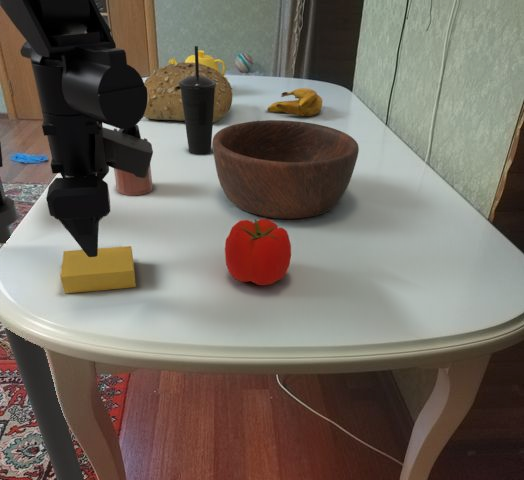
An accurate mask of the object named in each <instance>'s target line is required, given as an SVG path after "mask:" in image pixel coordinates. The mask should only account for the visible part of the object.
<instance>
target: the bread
mask: <svg viewBox="0 0 524 480" xmlns="http://www.w3.org/2000/svg"><path fill="white" fill-rule="evenodd" d="M220 72H221V71H220ZM220 72H218V71H217V70H215V69H213V68H211V67H208V66H205V65H202V64H199V75H200V76H205V77H207V78H209V79H211V80H213V81H215V82H216V87H215V96H214V111H213V123H216V122H219V121H221V120H222V119H223V118H224V117H225V116H227V114H228V113H229V112H230V110H231V107H232V104H233V94H234V93H233V88H232V85H231V83H230V82H229V80H228V81H227V80H226V78H227V77H226V76H225V75H224V76H222V72H221V73H220ZM193 75H196V71H195V63H185V61H184V62H183V61H181V62H179V63H178V64H174V63H173V64H172V63H170V64H169V63H168V64H167V65H164V66H162V67H159V68H157V69H154V70H153V72H152V73H151V74H150V75H149V76H148V77H147V78H146V79H145V80H144V85H145V86H146V88H147V94H148V99H147V107H146V110H145V113H144V115H143V117H144V118H147V119H150V120H160V121H161V120H162V121H182V122H185V118H184V110H183V103H182V95H181V88H180V86H179V81H181V80H183V79H185V78H186V77H189V76H193ZM225 77H226V78H225Z"/></svg>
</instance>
